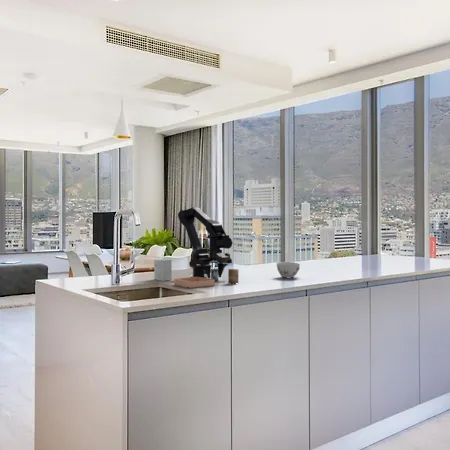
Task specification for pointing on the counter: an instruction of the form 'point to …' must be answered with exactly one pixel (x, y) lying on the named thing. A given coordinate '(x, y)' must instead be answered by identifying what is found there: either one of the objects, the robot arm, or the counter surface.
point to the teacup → (288, 269)
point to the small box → (162, 269)
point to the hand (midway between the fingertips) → (214, 277)
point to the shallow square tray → (194, 282)
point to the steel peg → (214, 274)
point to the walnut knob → (233, 276)
